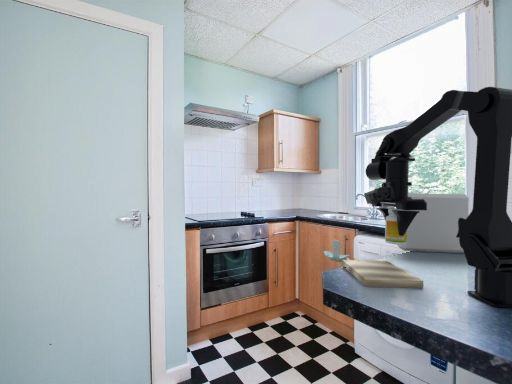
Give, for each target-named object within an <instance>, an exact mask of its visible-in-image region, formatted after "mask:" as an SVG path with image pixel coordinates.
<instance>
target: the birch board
mask: <svg viewBox="0 0 512 384" xmlns="http://www.w3.org/2000/svg"><path fill="white" fill-rule="evenodd" d="M341 266H342V267H343V268H344V267H346V268H345V270H347V271H348V272H349V273H350V274H351V275H352V276H354V278H356V279H357V280H358V281H359V282H360V283H361V284H362V285H363V286H365V287H366V288H367V287H368V288H369V287H370V288H371V287H372V288H373V287H374V288H411V289H414V288H418V289H424V279H421V278H419V277H417V276H415V275H414V274H412V273H410V272H408V271H406V270H405V269H403V268H400V267H399V266H398V265H395V264H393V263H392V262H390V261H388V260H378V259H377V260H372V259H371V260H370V259H369V260H368V259H350V260H342V262H341ZM348 266H349V267H348Z"/></svg>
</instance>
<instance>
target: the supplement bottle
mask: <svg viewBox="0 0 512 384" xmlns="http://www.w3.org/2000/svg"><path fill="white" fill-rule="evenodd" d="M392 210H398V209H397V208H396V207H394V208H389V209H388V213H389V216H387V217H386V220H385V219H384V221H385V222H384V223H385V226H384V231H385V232H384V241H385V243H387V244H391V245H396V246H398V245H404V244H406V243H407V231H406V232H405V234H404V236H400V235H399V232H398V223H397V216H396V215H395V214H394V212H393V211H392Z"/></svg>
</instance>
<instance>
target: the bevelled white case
mask: <svg viewBox="0 0 512 384" xmlns="http://www.w3.org/2000/svg"><path fill="white" fill-rule="evenodd" d="M408 197H412V199H424V200H425V201H426V202H427V210H417V211H420V212H419V213H417V215H416V216H415V218H414V219H413V221H412V222H411V224H410V226H409V227H408V229H407V243H406V244H404V245H397V247H398V248H399V249H401V250H403V251H405V252H423V251H425V252H427V253H447V254H448V253H449V254H464V251H463V248H461V246H460V243H459V238H457V237H456V236H457V234H458V220H459V218H467V217H468V216H469V214H470V213H469V212H470V211H469V210H470V209H469V207H470V206H469V202H470V200H469V199H470V197H468V196H467V194H466V193H465V194H461V193H457V194H456V193H414V192H413V193H411V192H410V193H409V192H408ZM416 250H418V251H416Z"/></svg>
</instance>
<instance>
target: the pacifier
mask: <svg viewBox="0 0 512 384" xmlns="http://www.w3.org/2000/svg"><path fill="white" fill-rule="evenodd" d="M342 246H343V245H342V243H341V241H340V240H338V239H333V240H332V241H331V248H332V251H327V250H324V251H323V254H324V256H325V257H326V258H328V259H330V260H329V261H332V262H337V263H342V260H351V259H350V258H349V257H350V254H341V249H342Z"/></svg>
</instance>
